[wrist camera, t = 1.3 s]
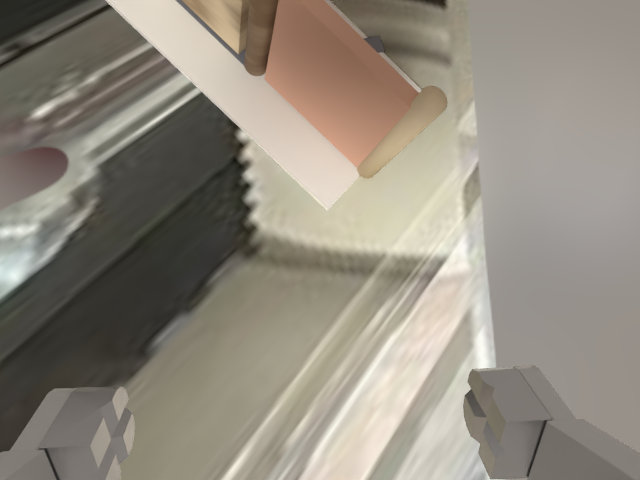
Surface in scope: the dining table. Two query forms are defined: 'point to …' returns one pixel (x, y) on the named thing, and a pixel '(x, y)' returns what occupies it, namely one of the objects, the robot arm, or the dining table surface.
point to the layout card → (248, 93)
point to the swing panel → (345, 85)
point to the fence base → (241, 27)
